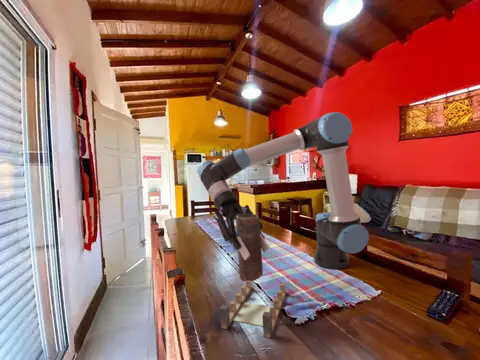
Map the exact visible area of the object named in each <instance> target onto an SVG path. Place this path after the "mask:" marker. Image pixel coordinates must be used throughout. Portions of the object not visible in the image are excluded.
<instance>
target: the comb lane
mask: <svg viewBox="0 0 480 360" xmlns="http://www.w3.org/2000/svg"><path fill="white" fill-rule="evenodd" d="M279 286H280V289H278V290H277V292H276V298H274V299H273V305H267V304H259V303H252V302H248V301H247V302H246V299H248V296H249V295H250V293H251V292H252V290H253V289H254V288H253V284H252V281H245V285H242V286H241V287H240V291H241V292H237V293H236V294H235V300H231V301H230V302H229V305H226V304H222V305H221V306H220V308H219V318H220V328H221V329H223V330H228V329H229V328H230V326H231V323H232V321H233V322H237V323H242V324H249V325H253V326H257V327H258V326H259V327H262V329H263V337H264V338H267V339H272V336H273V334H274V333H273V331H274V328H275V325H276V323H277V320H278V318H279V315H280V312H281V310H282V307H281V306H283V304H284V301H285V299H286V297H287V292H288V291H287V289H286V288H287V287H286V283H282V282H281V283H280V285H279ZM284 298H285V299H284ZM282 303H283V304H282Z"/></svg>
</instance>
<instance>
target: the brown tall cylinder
mask: <svg viewBox="0 0 480 360" xmlns="http://www.w3.org/2000/svg"><path fill="white" fill-rule="evenodd" d="M259 221H260V216H259V215H258V214H254V213H253V214H249V213H242V214H238V215H236V219H235V222H236V224H235V225H236V231H237V237H238V236H240V238H241V240H242V241H243V243H244V245H245V246H246V248H247V250H248V252H249V253H250V256H249V257H248V258H247V260H244V258H243V257H242V255H241V253H240V251H239V250H237V251H238V252H237V253H238V254H237V255H238V257H237V258H238V268H239V269H238V271H239V279H240V280H241V281H243V282H246V281H251V282H254V281H257V280H259V279H260V278H261V277H262V276H263V275H264V270H263V257H262V256H263V255H262V249H261V239H260V231H261V230H260V225H259Z"/></svg>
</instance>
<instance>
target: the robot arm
mask: <svg viewBox="0 0 480 360" xmlns="http://www.w3.org/2000/svg"><path fill="white" fill-rule="evenodd" d="M352 133H353V125H352V122H351V119H350V118H349V117H348V116H346V115H345V114H344V113H342V112H340V111H339V112H338V111H334V112H333V111H332V112H328V113H325V114H323V115H322V116H320V117H318V118H316V119H313V120H311V121H310V122H308V123H306V124H305V125H302V126H301V127H298V128H295V129H294V130H293V132H291V133H288V134H285V135H282V136H280V137H277V138H274V139H271V140H269V141H265V142H263V143H260V144H256V145H253V146H251V147H249V148H245V149H244V148H241V147H240V148H238V149H236V150H234V151H232V152H231V153H229V154H228V155H226V156H224V157H223V158H222V159H220V160H219V161H216V162H214V161H212V160H207V161H203V162H201V163H200V164H199V166H198V167H197V171H196V172H197V174H198V177H199V179H200V181H201V183H202V185H203V186H204V188H205V190H206V191H207V193H208V194H209V196H210V199H211V200H212V202H213V203H214V206H215V207H216V209H217V210H216V211H215V213H214V214H213V218H214V219H215V221H216V222H217V226H218V227H219V230H220V232H221V233H220V234H221V235H222V238H223V240H224V242H229V244H230V243H232V242H233V244H234V246H235V248H236V249H237V250H236V251H238V250H239V251H240V253H241V255H242V257H243V258H244V260H247V258H248V257H249V256H250V253H249V252H248V250H247V248H246V246H245V245H244V243H243V241H242V240H241V238H240V236H238V237H236V236H237V235H236V231H237V229H236V226H235V225H236V224H235V220H236V215H238V214H242V213H249V214H254V213H253V211H252V210H251V209H250V207H249V205H248V204H246V205H245V206H242V205H241V204H240V203H238V198H237V197H236V195H235V193H234V192H233V191H232V188H231V187H230V186H229V184H228V183H227V180H228V179H230V178H231V177H234V176H235V175H237V174H238V173H241V172H242V171H243V170H245V169H247V168H249V167H252V166H255V165H258V164H260V163H264V162H266V161H270V160H272V159H275V158H278V157H281V156H283V155H286V154H289V153H292V152H295V151H297V150H300V151H304V150H307V149H311V148H316V152H317V153H318V154H319V155H321V158H322V164H323V170H324V176H325V181H326V188H327V194H328V201H329V207H330V208H329V209H330V211H329V212H326V211H325V212H320V213H317V214H316V216H315V230H316V244H317V245H316V248H315V251H314V255H313V261H314V263H315V264H316V266H319V267H320V268H324V269H329V270H340V269H344V268H347V267H349V265H350V257H349V255H348V254H357V253H359V252H362V251H363V250H364V248H365V247H366V246H367V245H368V243H369V240H370V236H369V231H368V230H367V228H366V227H365V226H364V225H362V223H361V221H362V220H361V216H360V214H358V213H357V212H356V211H355V205H354V198H353V194H352V187H351V186H352V185H351V180H350V172H349V167H348V166H349V165H348V161H347V160H348V159H347V154H346V151H347V149H348V148H349V139H350V137H351V136H352ZM224 218H225V219H224ZM259 225H260V239H261V251H262V252H263V253H266V252H267V251H268V250H269V249H270V245H269V244H268V242H267V241H266V238H265V236H264V234H263V232H262V229H263V228H264V225H263V224H262V223H261V221H260V220H259Z"/></svg>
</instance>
